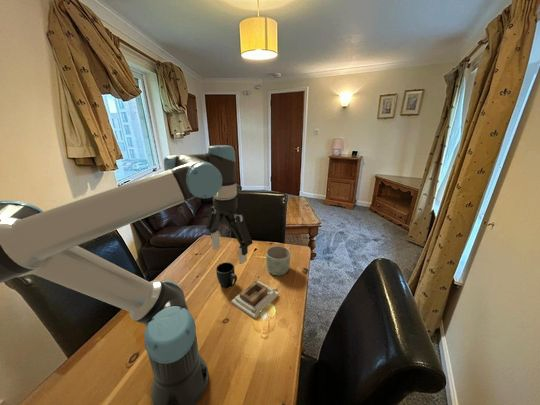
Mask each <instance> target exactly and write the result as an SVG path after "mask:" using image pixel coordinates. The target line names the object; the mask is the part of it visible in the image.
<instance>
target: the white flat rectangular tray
mask: <svg viewBox="0 0 540 405" xmlns="http://www.w3.org/2000/svg"><path fill="white" fill-rule="evenodd" d="M255 281H256V282H258V283H260V284H262V285H264V286H265V287H267V288H268V294H267V295H266V296H265V297H264V298H263V299H262V300H261V301H260V302H259V303H258V304H257V305H256V306H254V307H253V306H252V305H250V304H249V303H247V302H246V301H244V300H243V299H241V298H240V293H239V294H237V295H236V296H235V297H234V298H233V299H232V300H231V303H232V304H233V305H234V306H236V307H237V308H239V309H240V310H241V311H243V312H244V313H246V314H247V315H249V316H250V317H251V318H252V319H256V318H257V317H258V316H259V315H260V314H261V313H260V311H261V310H262V309H264V308H265V307H266V306H267V305H268V304H269V305H270V304H271V303H272V302H273V301H274V300H276V298H277V297H279V292H278V291H276V289H274V288H272V287H270V286H268V285H266V284H265V283H263V282H261V281H260V280H255ZM253 283H254V282H253ZM253 283H251V284H253ZM248 287H249V286H247V287H246V288H248ZM243 291H244V290H243ZM243 291H241V292H243ZM257 293H258V292H257V291H255V292H254V293H253V294H252V295H250V297H251V298H252V297H253V296H254V295H256V294H257ZM269 305H268V306H269ZM268 306H267V307H268ZM267 307H266V308H267ZM266 308H265V309H266ZM265 309H264V310H265ZM259 313H260V314H259ZM258 314H259V315H258Z"/></svg>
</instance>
